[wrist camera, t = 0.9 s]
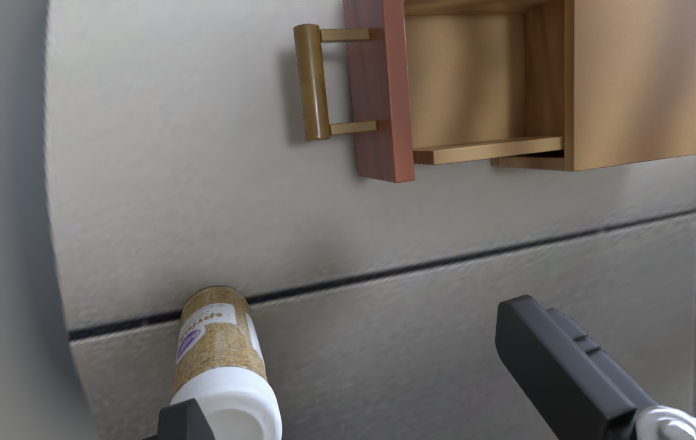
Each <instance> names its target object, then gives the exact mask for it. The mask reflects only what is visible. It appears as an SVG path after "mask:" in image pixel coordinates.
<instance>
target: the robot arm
mask: <svg viewBox="0 0 696 440" xmlns="http://www.w3.org/2000/svg"><path fill="white" fill-rule="evenodd" d="M495 344H496V349H497V352H498V354H499V357H500V359H501V360H502V362H503V364H504V365H505V366H506V368H507V369H508V371H509V372H510V373H511V375H512V376H513V377H514V379H515V380H516V382H517V383H518V384H519V386H520V387H521V388H522V390H523V391H524V392H525V394H526V395H527V397H528V398H529V399H530V401H531V402H532V403H533V405H534V406H535V408H536V409H537V410H538V412H539V413H540V414H541V416H542V417H543V418H544V420H545V421H546V423H547V424H548V425H549V427H550V428H551V429H552V431H553V432H554V434H555V435H556V436H557V438H558V439H559V440H696V419H695V418H693V417H692V416H690V415H689V414H687V413H685V412H683V411H681V410H678V409H676V408H672V407H668V406H661V405H660V404H659V403H657V402H656V401H655V400H654V399H653V398H652V397H651V396H650V395H649V394H648V393H647V392H645V391H644V390H643V389H642V388H641V387H640V386H639V385H638V384H637V383H636V382H635V381H634V380H633V379H632V378H631V377H630V376H629V375H628V374H627V373H626V372H625V371H624V370H623V369H622V368H621V367H620V366H619V365H618V364H617V363H616V362H615V361H614V360H613V359H612V358H611V357H610V356H609V355H608V354H607V353H606V352H605V351H604V350H602V349H601V347H600V346H599V345H598V344H597V343H596V342H595V341H594V340H593V339H592V338H590V337H589V336H588V334H587V333H586V332H585V331H584V330H583V329H582V328H581V327H580V326H579V325H578V324H577V323H576V322H575V321H574V320H573V319H572V318H570V317H568V316H566V315H565V314H563V313H561V312H559V311H557V310H556V309H554V308H550V309H547V310H544V309H543V308H542V307H541V306H540V305H539V304H538V303H537V302H536V300H535V299H533V298H532V297H531V296H529V295H522V296H519V297H516V298H513V299H510V300H507V301H503V302H501V303H499V305H498V313H497V324H496V336H495ZM142 440H215V437H214V434H213V431H212V429H211V428H210V426H209V424H208V422H207V420H206V418H205V416H204V414H203V412H202V410H201V408H200V406H199V404H198V402H197V401H196V399H195V398H192V399H189V400H185V401H182V402H179V403H176V404H173V405H170V406H166V407H163V408H162V409H161V410H160V413H159V421H158V433H157V435H155V436H152V437H149V438H146V439H142Z"/></svg>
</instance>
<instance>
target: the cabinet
mask: <svg viewBox="0 0 696 440" xmlns="http://www.w3.org/2000/svg"><path fill="white" fill-rule="evenodd" d="M695 154H696V0H564V149H562V150H554V151H546V152H538V153H529V154H521V155H513V156H505V157H497V158H492V166H496V167H512V168H528V169H543V170H558V171H573V172H574V171H581V170H589V169H596V168H603V167H610V166H617V165H624V164H631V163H638V162H645V161H652V160H659V159H667V158H674V157H681V156H688V155H695Z"/></svg>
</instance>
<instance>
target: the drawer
mask: <svg viewBox="0 0 696 440" xmlns="http://www.w3.org/2000/svg"><path fill="white" fill-rule="evenodd" d="M343 6H344V17H345V28H346V29H321V30H320V29H319V26H318V25H316V24H302V25H298V26H295V27H294V29H293V31H294V40H295V49H296V58H297V67H298V76H299V86H300V95H301V104H302V113H303V122H304V131H305V140H306V141H313V140H323V139H330V135H337V134H348V133H355V141H356V152H357V164H358V175H359V176H361V177H367V178H372V179H377V180H383V181H388V182H394V183H400V182H408V181H414V180H415V174H414V164H426V165H440V164H448V163H456V162H464V161H472V160H480V159H489V158H497V157H505V156H513V155H521V154H529V153H538V152H546V151H554V150H562V149H564V0H343ZM335 42H347V51H348V62H349V73H350V85H351V96H352V107H353V118H354V122H349V123H338V124H329V119H328V109H327V99H326V89H325V79H324V69H323V59H322V49H321V43H335Z"/></svg>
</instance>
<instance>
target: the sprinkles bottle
mask: <svg viewBox="0 0 696 440" xmlns="http://www.w3.org/2000/svg"><path fill="white" fill-rule="evenodd" d="M180 324H181V331H180V334H179V340H178V347H177V356H176V373H175V381H174V391H173V399H172V401H171V403H170V405H173V404H176V403H179V402H182V401H185V400H189V399H192V398H195V399H196V401H197V402H198V404H199V406H200V408H201V410H202V412H203V414H204V416H205V418H206V420H207V422H208V424H209V426H210V428H211V429H212V431H213V434H214V437H215V440H281V437H282V422H281V417H280V412H279V407H278V404H277V400H276V396H275V394H274V392H273V390H272V388H271V387H270V385H269V384H268V382H267V377H266V374H265V364H264V360H263V356H262V353H261V349H260V345H259V342H258V338H257V335H256V331H255V327H254V324H253V322H252V320H251V311H250V307H249V305H248V303H247V301H246V299H245V298H244V297H243V296H242V295H241V294H240V293H239V292H237V291H236V290H234V289H231V288H228V287H210V288H206V289H204V290H202V291H199V292H198V293H196V294H195V295H194V296H192V297H191V298H190V299H189V300H188V302H186V304H185V306H184V308H183V311H182V314H181V323H180ZM170 405H169V406H170Z"/></svg>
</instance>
